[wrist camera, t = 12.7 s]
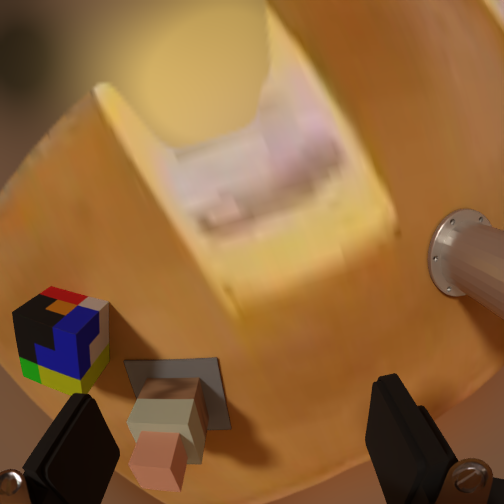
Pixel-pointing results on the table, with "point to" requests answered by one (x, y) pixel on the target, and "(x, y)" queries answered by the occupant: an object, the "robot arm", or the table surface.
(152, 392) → the tower base
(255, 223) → the table surface
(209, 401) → the mat
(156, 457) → the terracotta block
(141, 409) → the tower top
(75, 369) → the puzzle toy
